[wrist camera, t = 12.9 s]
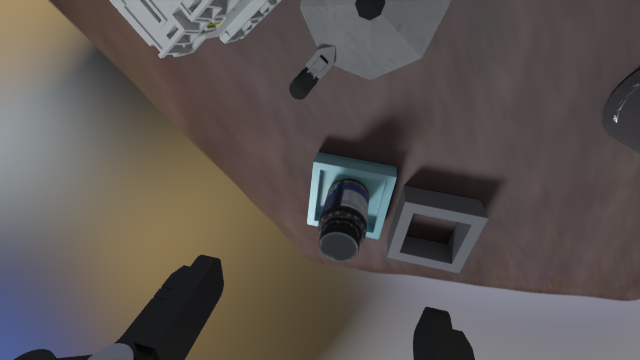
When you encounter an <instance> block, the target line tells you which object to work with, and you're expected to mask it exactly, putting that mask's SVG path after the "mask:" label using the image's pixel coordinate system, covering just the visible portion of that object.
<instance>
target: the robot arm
mask: <svg viewBox="0 0 640 360" xmlns="http://www.w3.org/2000/svg"><path fill="white" fill-rule="evenodd" d="M604 124H605V128H606V130H607V131H608V132H609V134H610V135H611V136H613V137H614V138H615V139H617V140H618V141H620V142H622V143H623V144H625V145H626V146H628V147H630V148H631V149H633V150H635V151H636V152H637V153H639V154H640V70H638V71H637V72H635V73H634V74H633V75H631V76H630V77H628V78H627V79H626V80H625V81H624V82H623V83H622V84H621V85H620V86H618V88H617V89H616V90H615V91H614V93H613V94H612V95H611V97H610V99H609V100H608V102H607V104H606V107H605V111H604ZM223 287H224V280H223V273H222V266H221V260H220V259H219V258H214V257H210V256H205V255H200V256H198V257H197V258H196V260H195V261H194V263H193V264H192V265H191V266H190V267H189V266H185V265H184V266H183V267H181V268H180V269H178V270H177V271H175V272H174V273H172V274H171V275H170V276H169V278H168V279H167V280H166V281H165V283H164V284H163V285H162V288H161V289H159V290H158V292H157V293H156V294H155V295H154V298H153V299H151V300H150V302H149V303H148V304H147V306H146V307H145V308H144V309H143V310H142V312H141V313H140V314H139V315H138V317H137V318H136V319H135V320H134V322H133V323H132V324H131V325H130V327H129V328H128V329H127V331H126V332H125V333H124V334H123V335H122V337H121V338H120V339H119V340H118V341H117V342H115V343H114V344H111V345H108V346H105V347H103V348H102V349H100V350H98V351H97V352H95V353H94V354H93V355H86V356H76V357H65V358H56V357H55V356H54V354H53V353H52V352H51V351H49V350H46V349H38V350H33V351H30V352H27V353H25V354H23V355H21V356H19V357H17V358H16V359H14V360H185V358H186V356H187V355H188V353H189V351H190V349H191V348H192V346H193V344H194V342H195V341H196V339H197V337H198V335H199V334H200V332H201V330H202V328H203V327H204V325H205V323H206V322H207V319H208V318H209V316H210V315H211V313H212V311H213V309H214V307H215V306H216V304H217V302H218V301H219V298H220V297H221V294H222V291H223ZM413 355H414V360H475V358H474V354H473V349H472V347H471V345H470V343H469V342H468V340H467V338H466V337H465V335H464V333H463V332H462V331H458V330H454V329H452V324H451V318H450V315H449V313H448V312H447V311H443V310H439V309H435V308H430V307H425V309H424V311H423V313H422V315H421V317H420V320H419V322H418V324H417V326H416V329H415V331H414V337H413Z"/></svg>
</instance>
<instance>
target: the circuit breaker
mask: <svg viewBox="0 0 640 360" xmlns="http://www.w3.org/2000/svg"><path fill="white" fill-rule="evenodd" d="M280 1H281V0H110V2H111V3H112V4H113V5H114V6H115V7H116V8H117V9H118V11H119V12H120V13H121V14H122V15H123V16H124V17H125V19H126V20H127V21H128V22H129V23H130V24H131V25H132V26H133V28H134V29H135V30H136V31H137V32H138V33H139V34H140V35H141V37H142V38H143V39H144V40H145V41H146V42H147V43H148V45H149V46H153V45H155V46H156V47H157V49H158V50H159V51H160V54H159V55H158V56H159V57H160V58H164V57H165V56H166V55H171V54H172V55H173V56H174V57H179V56H183V55H186V54H190V53H193V52H194V51H195V50H196V49H197V48H198V47H199V46H200V44H201V43H202V42H203V41H204V40H205V39H208V38H213V37H217V36H219V37H220V38H219V39H220V40H221V41H223V42H224V43H225V44H226V43H229V42H233V41H236V40H238V39H239V38H241V39H243V38H244V37H245V36H246V35H247V34H248V33H249V32H250V31H251V30H252V29H253V28H254V27H255V26H256V25H257V24H258V23H259V22H260V21H261V20H262V19H263V18H264V17H265V16H266V15H267V14H268V13H269V12H270V11H271V10H272V9H273V8H274V7H275V6H276V5H277V4H278V3H279V2H280ZM180 45H182V46H183V48H182V47H181V46H180Z"/></svg>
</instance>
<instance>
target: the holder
mask: <svg viewBox="0 0 640 360" xmlns="http://www.w3.org/2000/svg"><path fill="white" fill-rule="evenodd" d="M413 213H416V214H421V215H426V216H430V217H435V218H440V219H445V220H450V221H455V222H458V223H457V225H456V227H455V229H454V231H453V234H452V236H451V238H450V240H449V242H448V244H442V243H437V242H433V241H428V240H423V239H419V238H414V237H409V236H406V233H407V230H408V227H409V224H410V222H411V219H412V216H413ZM488 219H489V218H488V216H487V214H486V211H485V209H484V207H483V205H482V203H481V200H476V199H471V198H466V197H461V196H456V195H450V194H445V193H440V192H435V191H430V190H425V189H419V188H414V187H409V186H404V187H403V190H402V193H401V196H400V199H399V203H398V206H397V209H396V212H395V215H394V218H393V222H392V225H391V228H390V231H389V234H388V238H387V258H392V259H396V260H401V261H405V262H410V263H414V264H419V265H423V266H428V267H432V268H437V269H441V270H446V271H450V272H455V273H459V272H460V270H461V268H462V267H463V265H464V263H465V261H466V259H467V257H468V256H469V254H470V252H471V250H472V248H473V246H474V245H475V243H476V241H477V239H478V237H479V235H480V233H481V232H482V230H483V228H484V226H485V224H486V222H487V221H488Z"/></svg>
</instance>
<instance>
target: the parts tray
mask: <svg viewBox="0 0 640 360" xmlns="http://www.w3.org/2000/svg"><path fill="white" fill-rule="evenodd" d="M396 178H397V173H396V166H391V165H385V164H380V163H375V162H369V161H364V160H359V159H353V158H348V157H343V156H337V155H332V154H327V153H321V152H318V154H317V156H316V158H315V160H314V164H313V173H312V182H311V192H310V201H309V211H308V220H307V224H309V225H314V226H318V223H319V220H320V216H321V213H322V210H323V206H324V203H325V200H326V196H327V193H328V190H329V188H330V187H331V185H332V184H333V183H335V182H336V181H338V180H342V179H354V180H357V181H359V182H360V183H362V184H363V185H364V186H365V187H366V189H367V190H368V193H369V208H368V219H367V232H366V236H365V237H370V238H374V239H379V236H380V233H381V230H382V226H383V223H384V219H385V216H386V212H387V209H388V206H389V202H390V199H391V195H392V192H393V189H394V185H395V182H396Z"/></svg>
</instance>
